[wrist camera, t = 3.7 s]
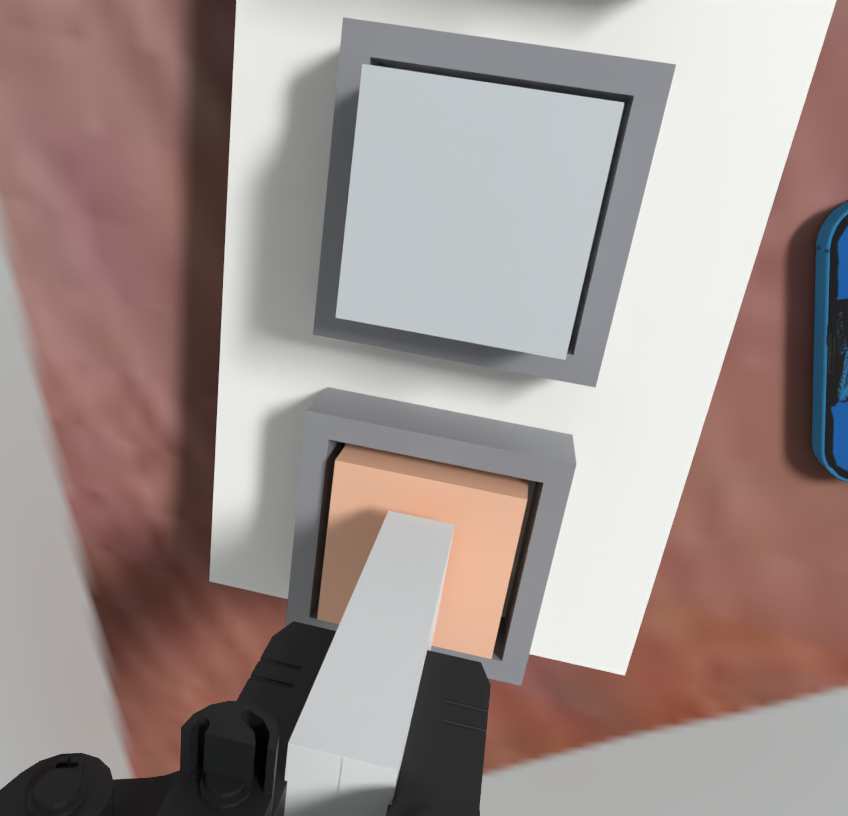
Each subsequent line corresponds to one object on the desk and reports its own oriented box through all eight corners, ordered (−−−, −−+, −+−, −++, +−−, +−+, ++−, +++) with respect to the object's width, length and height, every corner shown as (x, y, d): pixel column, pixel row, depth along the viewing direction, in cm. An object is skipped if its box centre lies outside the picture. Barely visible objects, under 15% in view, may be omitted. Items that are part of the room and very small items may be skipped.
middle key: (386, 78, 13) (362, 63, 12) (611, 112, 13) (624, 102, 11) (360, 299, 15) (335, 317, 13) (561, 335, 15) (565, 360, 13)
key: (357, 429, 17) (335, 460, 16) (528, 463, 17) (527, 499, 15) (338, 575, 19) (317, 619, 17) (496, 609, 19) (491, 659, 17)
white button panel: (305, -413, 14) (215, -639, 10) (906, -364, 13) (1068, -597, 9) (243, 538, 22) (179, 619, 18) (615, 619, 21) (633, 725, 17)
